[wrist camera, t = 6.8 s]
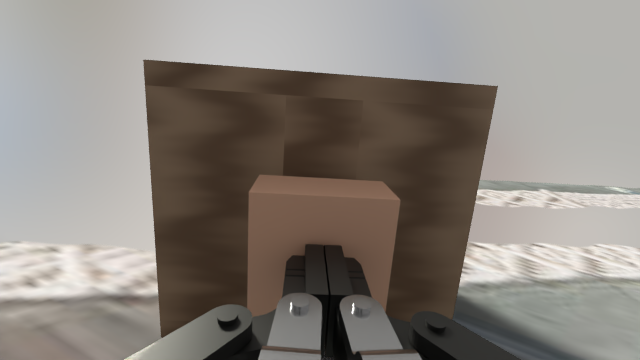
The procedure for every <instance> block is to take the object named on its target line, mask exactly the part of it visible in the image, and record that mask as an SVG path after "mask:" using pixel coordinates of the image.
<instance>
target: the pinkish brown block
mask: <svg viewBox="0 0 640 360" xmlns="http://www.w3.org/2000/svg"><path fill="white" fill-rule="evenodd" d="M400 201H401V200H400V199H399V198H398V197H397V196H396V195H395V194H394V193H393V192H392V191H391V189H390V188H389V187H388V186H387V185H386V184H385V183H384V182H383V181H367V180H349V179H331V178H312V177H294V176H276V175H259V176H258V178H257V180H256V181H255V183H254V184H253V186H252V188H251V189H250V191H249V210H248V287H247V309H249V311H250V312H251V313H252V317H254V316H259V315H264V314H267V313H269V312H271V311H273V310H275V309H276V308H277V305H278V302H279V301H280V299H281V298H282V293H283V285H284V277H285V268H286V261H287V260H288V259H289V258H290V257H291V256H292V255H299V256H305V244H318V245H323V247H324V245H341V246H342V250H343V254H344V257H350V258H355V259H356V260H357V261H358V262H359V263H360V264H361V266H362V269H363V273H364V275H365V279H366V281H367V284H368V287H369V290H370V293H371V295H372V298H373V299H375V300H377V301H378V302H379V303H380V304H381V305H382V307H383V309H384V311H385V312H386V304H387V297H388V289H389V282H390V275H391V267H392V260H393V252H394V245H395V238H396V230H397V223H398V215H399V208H400Z"/></svg>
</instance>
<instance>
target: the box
mask: <svg viewBox="0 0 640 360" xmlns="http://www.w3.org/2000/svg"><path fill="white" fill-rule="evenodd" d="M143 61H144V76H145V91H146V108H147V123H148V138H149V154H150V170H151V185H152V200H153V216H154V231H155V248H156V263H157V279H158V294H159V310H160V326H161V337H165V336H167V335H168V334H170V333H172V332H174V331H176V330H177V329H179V328H181V327H183V326H184V325H186V324H188V323H190V322H191V321H193V320H195V319H197V318H198V317H200V316H202V315H204V314H205V313H207V312H209V311H211V310H212V309H214V308H216V307H219V306H223V305H228V304H235V305H241V306H244V307H246V308H247V287H248V210H249V191H250V189H251V188H252V186H253V184H254V183H255V181H256V180H257V178H258V176H259V175H276V176H294V177H312V178H331V179H349V180H367V181H383V182H384V183H385V184H386V185H387V186H388V187H389V188H390V189H391V191H392V192H393V193H394V194H395V195H396V196H397V197H398V198H399V199H400V200H401V201H400V208H399V215H398V223H397V230H396V238H395V245H394V252H393V260H392V267H391V275H390V282H389V289H388V297H387V304H386V312H385V313H386V315H388V316H390V317H392V318H395V319H399V320H403V321H407V322H411V318H412V316H413V315H414V314H415V313H417V312H420V311H431V312H436V313H439V314H442V315H444V316H446V317H448V318H449V319H451V320H452V318H453V313H454V308H455V303H456V298H457V293H458V288H459V282H460V277H461V272H462V267H463V262H464V257H465V252H466V247H467V242H468V236H469V231H470V226H471V221H472V216H473V211H474V205H475V201H476V195H477V190H478V185H479V180H480V175H481V170H482V165H483V160H484V154H485V149H486V144H487V139H488V134H489V129H490V124H491V119H492V114H493V108H494V103H495V98H496V93H497V87H498V86H487V85H474V84H461V83H447V82H434V81H420V80H407V79H394V78H381V77H367V76H354V75H339V74H328V73H327V74H326V73H314V72H300V71H288V70H274V69H260V68H248V67H233V66H221V65H208V64H194V63H181V62H167V61H154V60H143Z"/></svg>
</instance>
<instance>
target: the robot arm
mask: <svg viewBox="0 0 640 360" xmlns="http://www.w3.org/2000/svg"><path fill="white" fill-rule="evenodd" d="M324 345H325V357H333V358H334V360H521V359H519V358H517V357H515V356H514V355H512V354H510V353H508V352H507V351H505V350H503V349H501V348H500V347H498V346H496V345H494V344H493V343H491V342H489V341H488V340H486V339H484V338H482V337H481V336H479V335H477V334H475V333H474V332H472V331H470V330H468V329H467V328H465V327H463V326H461V325H460V324H458V323H456V322H455V321H453V320H451V319H449V318H448V317H446V316H444V315H442V314H439V313H436V312H431V311H420V312H417V313H415V314H414V315H413V316H412V318H411V322H407V321H403V320H399V319H395V318H392V317H390V316H388V315H386V313H385V311H384V309H383V307H382V305H381V304H380V303H379V302H378V301H377V300H375V299H373V298H372V295H371V293H370V290H369V287H368V284H367V281H366V279H365V275H364V273H363V269H362V266H361V264H360V263H359V262H358V261H357V260H356V259H355V258H350V257H344V254H343V250H342V246H341V245H324V247H323V245H318V244H305V256H299V255H292V256H291V257H290V258H289V259H288V260H287V261H286V268H285V277H284V285H283V293H282V298H281V299H280V301H279V302H278V305H277V308H276V309H275V310H273V311H271V312H269V313H267V314H264V315H259V316H254V317H252V313H251V312H250V311H249V309H247V308H246V307H244V306H241V305H235V304H228V305H223V306H219V307H216V308H214V309H212V310H211V311H209V312H207V313H205V314H204V315H202V316H200V317H198V318H197V319H195V320H193V321H191V322H190V323H188V324H186V325H184V326H183V327H181V328H179V329H177V330H176V331H174V332H172V333H170V334H168V335H167V336H165V337H163V338H161V339H160V340H158V341H156V342H154V343H153V344H151V345H149V346H147V347H146V348H144V349H142V350H140V351H139V352H137V353H135V354H133V355H132V356H130V357H128V358H126V359H125V360H321V357H324Z"/></svg>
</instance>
